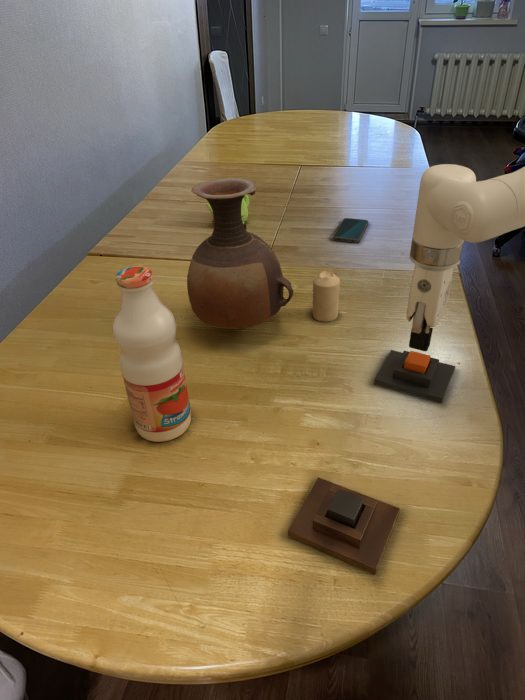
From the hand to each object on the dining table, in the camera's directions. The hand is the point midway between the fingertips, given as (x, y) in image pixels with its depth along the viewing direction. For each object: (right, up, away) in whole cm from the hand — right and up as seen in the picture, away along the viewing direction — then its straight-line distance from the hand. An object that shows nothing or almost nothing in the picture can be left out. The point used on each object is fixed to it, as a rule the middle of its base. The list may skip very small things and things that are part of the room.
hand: (419, 346), depth 90 cm
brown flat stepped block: (-16, -24, -21) cm, 36 cm away
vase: (-33, +4, +20) cm, 38 cm away
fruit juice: (-44, -13, -3) cm, 46 cm away
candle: (-14, +7, +23) cm, 27 cm away
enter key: (0, -3, +2) cm, 4 cm away
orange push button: (0, -6, +4) cm, 7 cm away
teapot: (-37, +38, +68) cm, 86 cm away
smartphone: (-2, +33, +59) cm, 67 cm away
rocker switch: (-16, -22, -22) cm, 35 cm away
